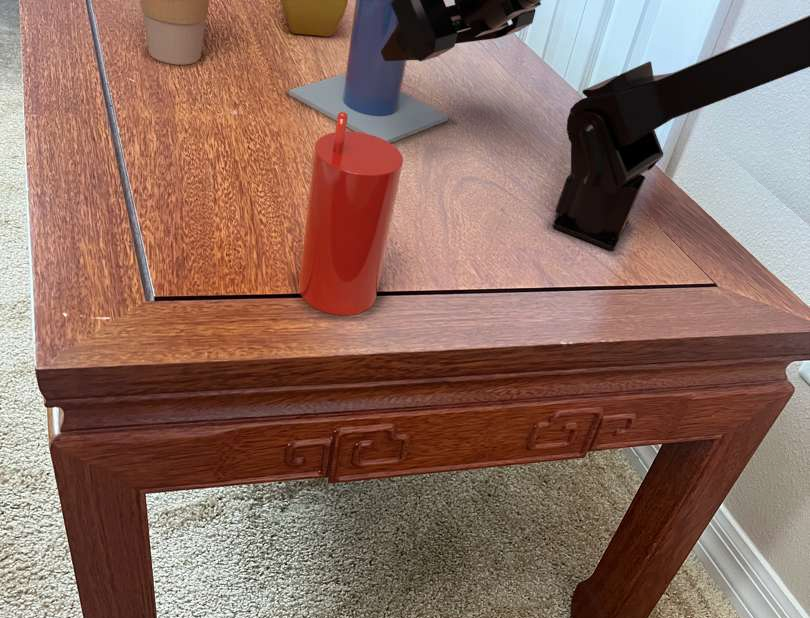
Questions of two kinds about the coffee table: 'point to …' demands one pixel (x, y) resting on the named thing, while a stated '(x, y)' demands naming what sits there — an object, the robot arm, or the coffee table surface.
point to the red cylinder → (348, 219)
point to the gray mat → (389, 128)
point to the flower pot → (314, 15)
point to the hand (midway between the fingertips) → (410, 48)
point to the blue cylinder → (372, 61)
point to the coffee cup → (175, 29)
